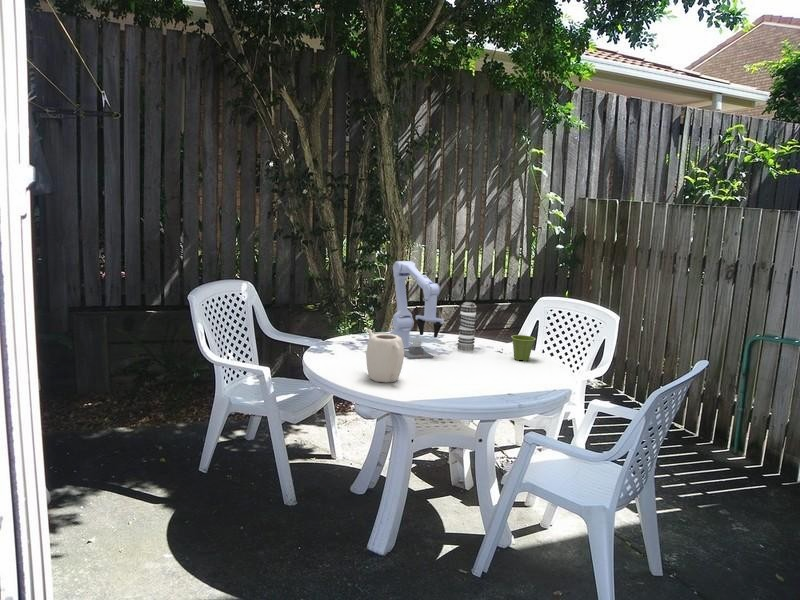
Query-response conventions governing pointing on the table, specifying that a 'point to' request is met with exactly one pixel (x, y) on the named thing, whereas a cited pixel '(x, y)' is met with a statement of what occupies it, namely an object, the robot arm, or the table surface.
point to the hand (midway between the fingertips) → (428, 336)
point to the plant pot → (522, 346)
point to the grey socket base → (417, 353)
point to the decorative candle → (467, 327)
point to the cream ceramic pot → (384, 357)
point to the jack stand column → (416, 342)
